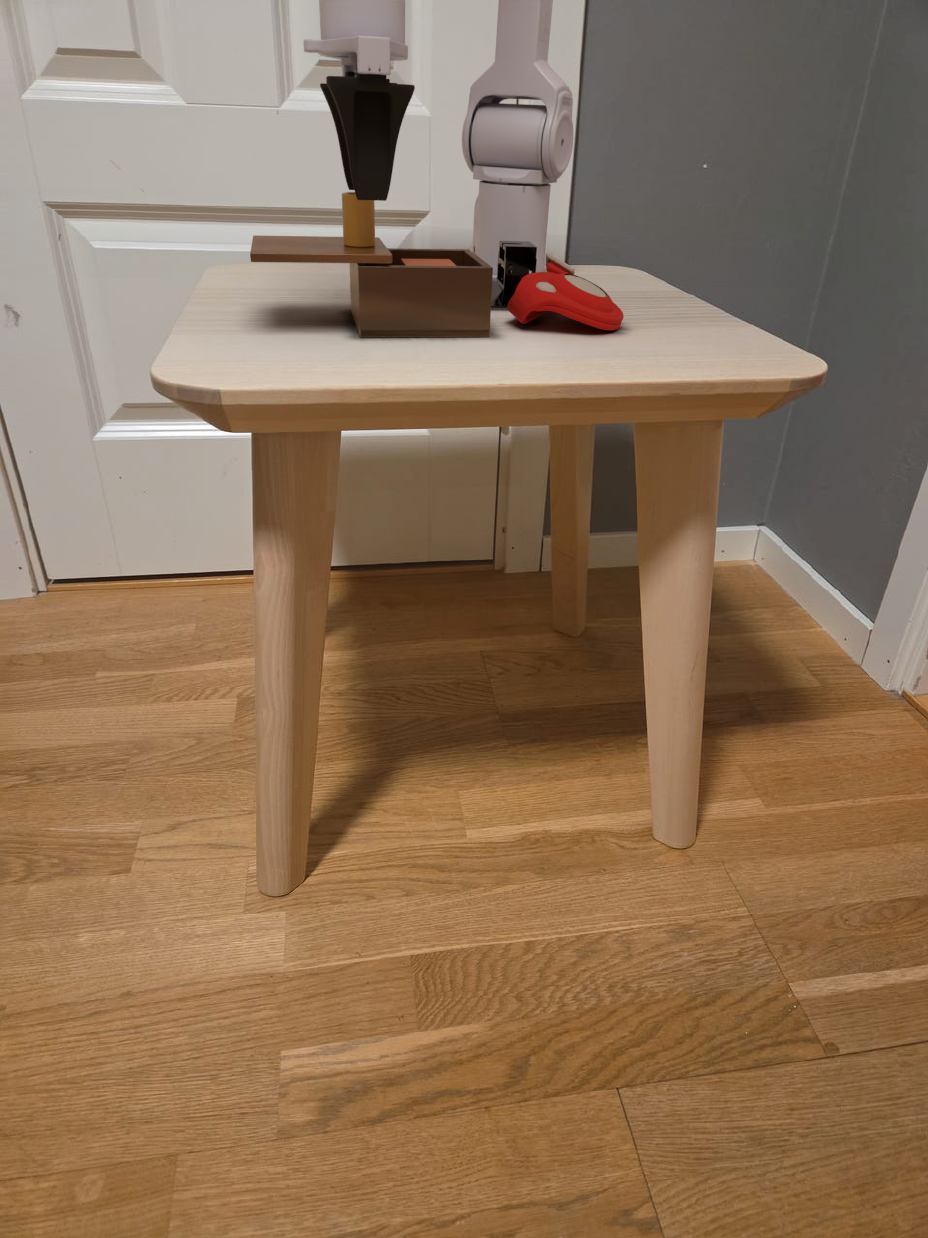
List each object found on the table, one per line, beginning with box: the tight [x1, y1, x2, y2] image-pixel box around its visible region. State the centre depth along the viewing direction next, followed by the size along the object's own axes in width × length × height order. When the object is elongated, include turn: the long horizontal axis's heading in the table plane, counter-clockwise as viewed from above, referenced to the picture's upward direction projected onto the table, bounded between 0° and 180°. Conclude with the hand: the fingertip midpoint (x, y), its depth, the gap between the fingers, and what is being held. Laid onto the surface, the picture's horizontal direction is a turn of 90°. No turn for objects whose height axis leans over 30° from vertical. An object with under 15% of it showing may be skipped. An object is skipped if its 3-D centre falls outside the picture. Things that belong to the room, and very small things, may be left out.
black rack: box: [491, 241, 537, 310], centre depth 77 cm, size 12×7×5 cm, turn 7°
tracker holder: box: [506, 252, 625, 331], centre depth 68 cm, size 12×4×10 cm
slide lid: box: [249, 191, 392, 264], centre depth 61 cm, size 9×10×4 cm
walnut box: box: [349, 247, 493, 338], centre depth 65 cm, size 9×10×5 cm
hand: (366, 194), depth 61 cm, fingers open, 7 cm apart
